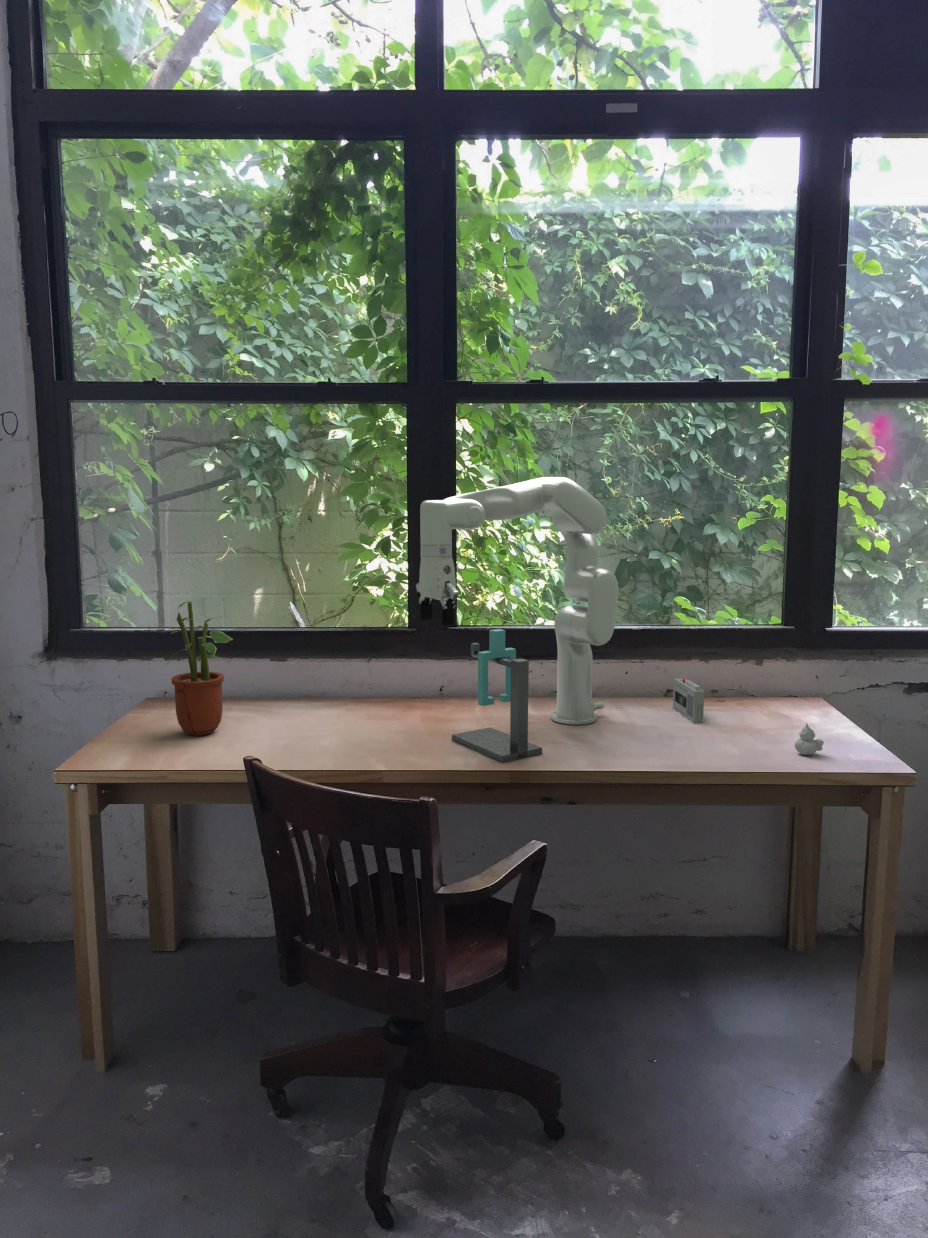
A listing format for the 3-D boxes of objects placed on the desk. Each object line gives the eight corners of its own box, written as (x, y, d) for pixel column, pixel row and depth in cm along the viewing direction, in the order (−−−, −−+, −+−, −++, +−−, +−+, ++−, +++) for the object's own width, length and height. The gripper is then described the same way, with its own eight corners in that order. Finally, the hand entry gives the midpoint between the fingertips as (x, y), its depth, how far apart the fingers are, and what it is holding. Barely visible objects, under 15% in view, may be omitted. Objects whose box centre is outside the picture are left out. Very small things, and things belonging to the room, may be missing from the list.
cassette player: (672, 709, 261) (674, 675, 259) (681, 708, 261) (683, 675, 259) (693, 723, 245) (695, 687, 244) (702, 723, 246) (704, 687, 244)
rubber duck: (792, 750, 221) (794, 719, 220) (820, 752, 220) (822, 720, 219) (796, 757, 216) (798, 725, 215) (825, 758, 215) (827, 726, 214)
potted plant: (211, 741, 228) (205, 604, 223) (155, 737, 231) (148, 602, 226) (242, 723, 245) (237, 595, 240) (189, 719, 248) (183, 593, 243)
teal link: (510, 698, 226) (510, 627, 223) (516, 700, 224) (516, 629, 221) (477, 704, 220) (477, 631, 217) (483, 706, 218) (483, 632, 215)
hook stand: (490, 732, 236) (490, 640, 232) (542, 753, 218) (543, 653, 215) (451, 740, 229) (451, 645, 225) (502, 762, 212) (503, 659, 208)
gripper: (469, 553, 212) (469, 625, 214) (430, 548, 226) (430, 616, 229) (442, 555, 208) (442, 628, 210) (404, 550, 222) (405, 618, 224)
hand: (436, 622), depth 219 cm, fingers open, 9 cm apart
